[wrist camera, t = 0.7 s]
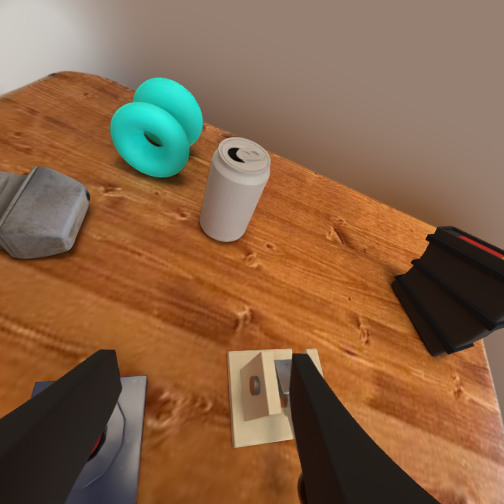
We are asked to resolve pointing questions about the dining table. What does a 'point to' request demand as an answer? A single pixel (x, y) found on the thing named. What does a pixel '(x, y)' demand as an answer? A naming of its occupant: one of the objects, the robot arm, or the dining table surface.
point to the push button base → (114, 450)
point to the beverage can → (233, 188)
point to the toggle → (288, 411)
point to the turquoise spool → (157, 127)
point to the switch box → (258, 396)
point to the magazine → (454, 290)
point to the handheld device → (40, 212)
